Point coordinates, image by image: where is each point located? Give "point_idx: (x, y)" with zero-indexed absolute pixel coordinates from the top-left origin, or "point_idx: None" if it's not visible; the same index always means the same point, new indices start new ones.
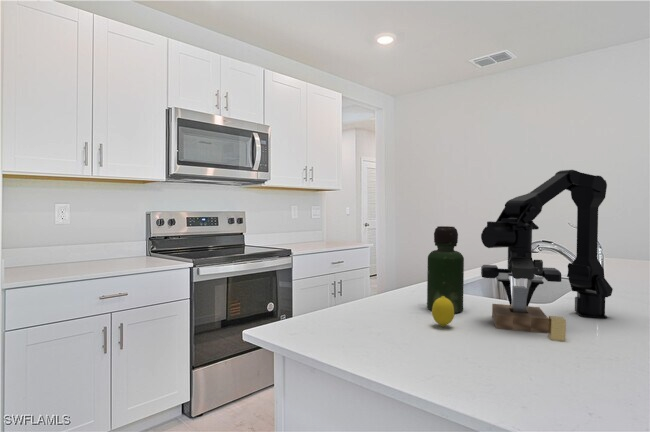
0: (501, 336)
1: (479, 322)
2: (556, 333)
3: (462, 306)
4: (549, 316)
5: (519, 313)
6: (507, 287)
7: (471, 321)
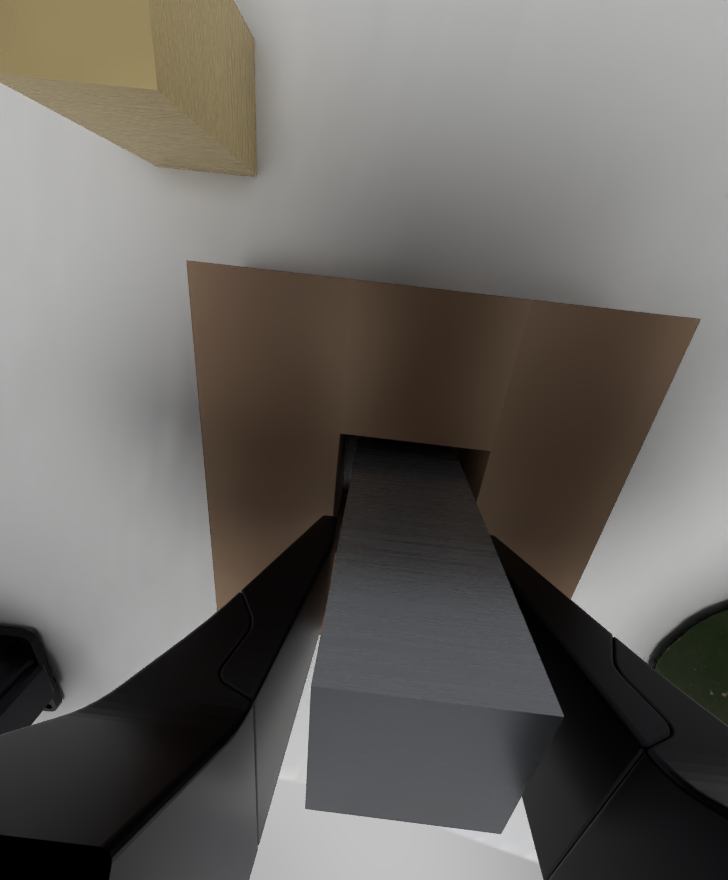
0: (680, 37)
1: (667, 441)
2: None
3: (695, 667)
4: (148, 25)
5: (425, 416)
6: (697, 735)
7: (718, 455)
